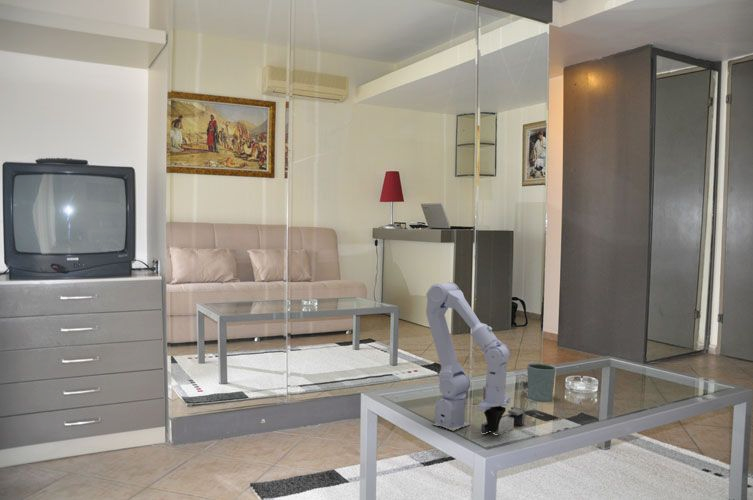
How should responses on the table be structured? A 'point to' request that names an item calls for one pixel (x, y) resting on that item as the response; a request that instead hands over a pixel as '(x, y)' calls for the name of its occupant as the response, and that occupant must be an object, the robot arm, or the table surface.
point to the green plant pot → (540, 382)
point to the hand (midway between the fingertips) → (492, 430)
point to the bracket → (514, 413)
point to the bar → (505, 425)
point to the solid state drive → (540, 415)
